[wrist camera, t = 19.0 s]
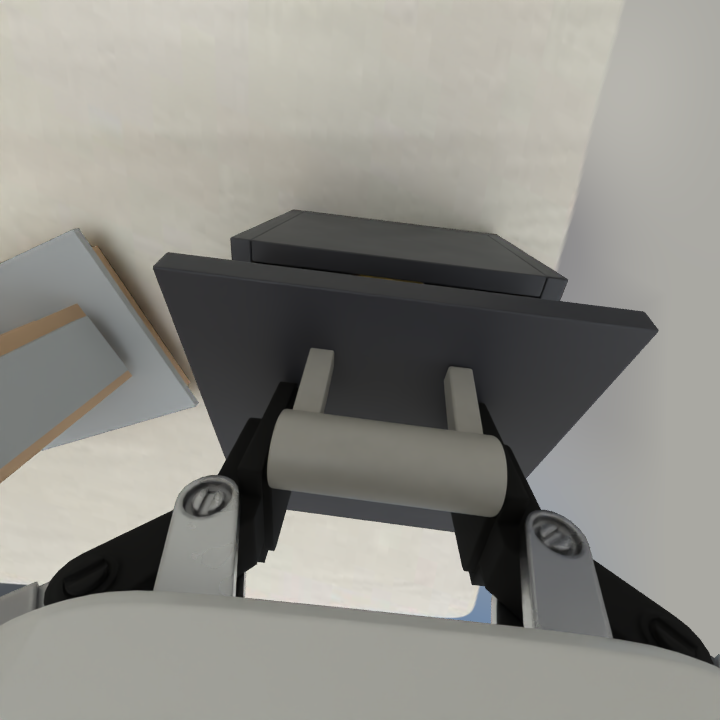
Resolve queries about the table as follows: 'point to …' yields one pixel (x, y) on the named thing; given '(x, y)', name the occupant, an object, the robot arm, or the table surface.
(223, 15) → the table surface
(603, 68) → the table surface
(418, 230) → the dark grey hollow box
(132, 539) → the robot arm
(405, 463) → the lid
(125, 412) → the desk lamp
